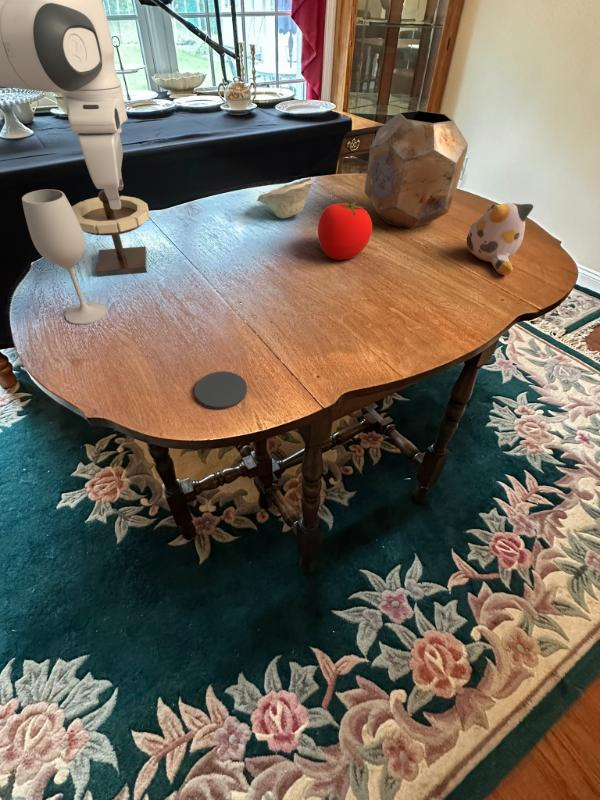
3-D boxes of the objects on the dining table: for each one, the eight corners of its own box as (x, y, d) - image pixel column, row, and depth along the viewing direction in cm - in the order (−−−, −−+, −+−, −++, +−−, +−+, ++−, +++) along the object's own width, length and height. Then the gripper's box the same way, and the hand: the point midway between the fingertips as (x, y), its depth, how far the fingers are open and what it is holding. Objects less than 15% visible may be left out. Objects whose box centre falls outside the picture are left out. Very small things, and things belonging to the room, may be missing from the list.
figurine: (504, 234, 107) (536, 185, 93) (519, 292, 101) (556, 249, 87) (456, 235, 107) (481, 186, 93) (469, 293, 101) (498, 250, 87)
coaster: (197, 413, 63) (196, 410, 63) (193, 377, 69) (192, 374, 69) (250, 405, 65) (250, 402, 65) (242, 371, 71) (242, 368, 70)
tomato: (304, 258, 99) (306, 207, 91) (329, 237, 108) (333, 188, 100) (353, 272, 95) (360, 220, 87) (375, 248, 104) (383, 199, 96)
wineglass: (83, 330, 77) (37, 209, 62) (55, 316, 79) (4, 198, 65) (116, 310, 82) (80, 194, 67) (89, 298, 84) (49, 184, 69)
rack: (90, 280, 89) (64, 204, 78) (94, 252, 98) (72, 181, 87) (153, 274, 92) (136, 200, 81) (152, 248, 100) (137, 178, 89)
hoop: (66, 235, 81) (63, 227, 80) (75, 205, 91) (72, 197, 90) (149, 230, 84) (147, 222, 83) (148, 201, 94) (147, 193, 93)
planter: (354, 202, 125) (366, 104, 108) (436, 203, 127) (461, 107, 110) (367, 235, 109) (383, 127, 93) (460, 236, 111) (493, 130, 94)
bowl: (284, 201, 124) (284, 163, 117) (322, 215, 117) (325, 176, 110) (246, 215, 115) (244, 175, 108) (285, 231, 109) (286, 190, 102)
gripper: (81, 94, 75) (103, 179, 85) (66, 122, 61) (94, 221, 71) (119, 94, 76) (136, 178, 86) (114, 122, 62) (135, 219, 72)
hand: (117, 198), depth 78 cm, fingers open, 8 cm apart
